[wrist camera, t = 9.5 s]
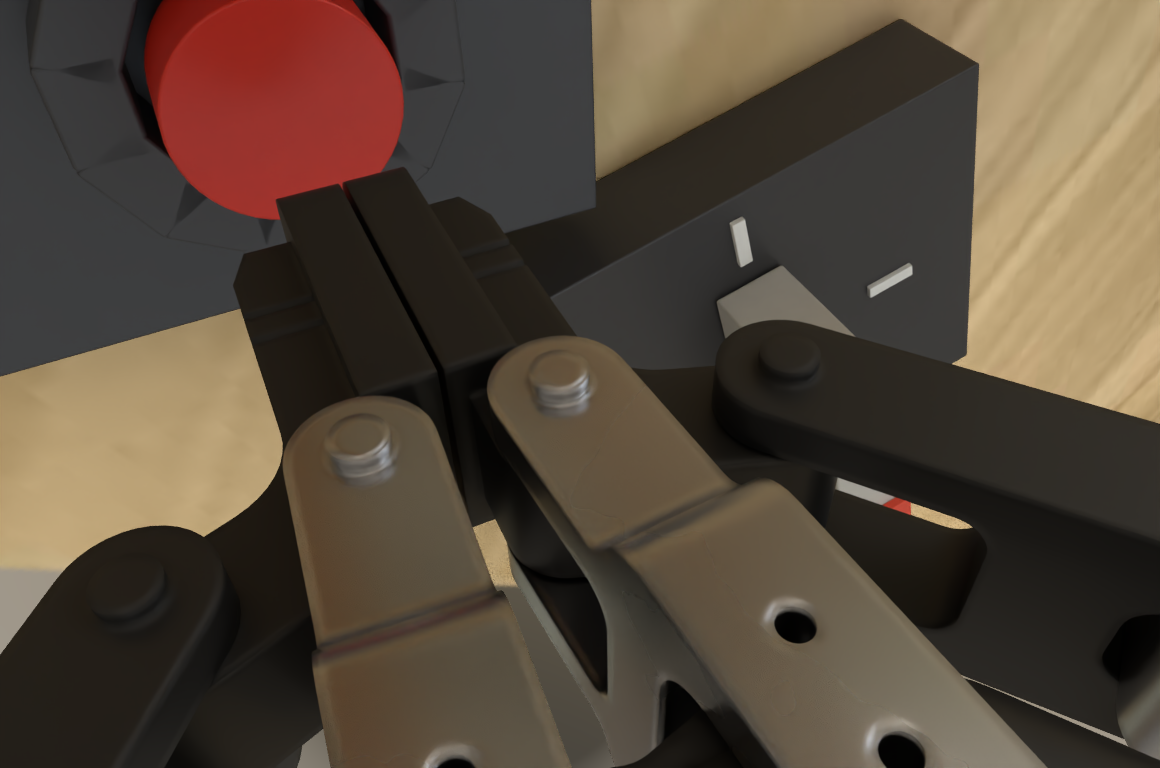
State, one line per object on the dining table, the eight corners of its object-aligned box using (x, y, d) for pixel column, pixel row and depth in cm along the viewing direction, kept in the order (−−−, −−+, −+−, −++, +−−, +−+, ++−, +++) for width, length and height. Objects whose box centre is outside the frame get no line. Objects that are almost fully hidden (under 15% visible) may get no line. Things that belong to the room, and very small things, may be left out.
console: (901, 17, 25) (984, 65, 23) (908, 303, 33) (970, 358, 31) (427, 270, 24) (470, 346, 22) (554, 503, 32) (595, 575, 30)
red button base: (527, -418, 16) (636, -400, 13) (559, 163, 24) (632, 249, 21) (-405, -340, 12) (-510, -293, 10) (-14, 316, 20) (-14, 443, 17)
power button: (351, -68, 15) (383, -30, 14) (391, 142, 17) (420, 188, 16) (107, -23, 14) (117, 21, 13) (186, 192, 16) (201, 246, 15)
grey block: (714, 300, 25) (836, 435, 21) (781, 263, 25) (913, 390, 21) (745, 426, 29) (851, 557, 25) (803, 394, 29) (916, 519, 25)
